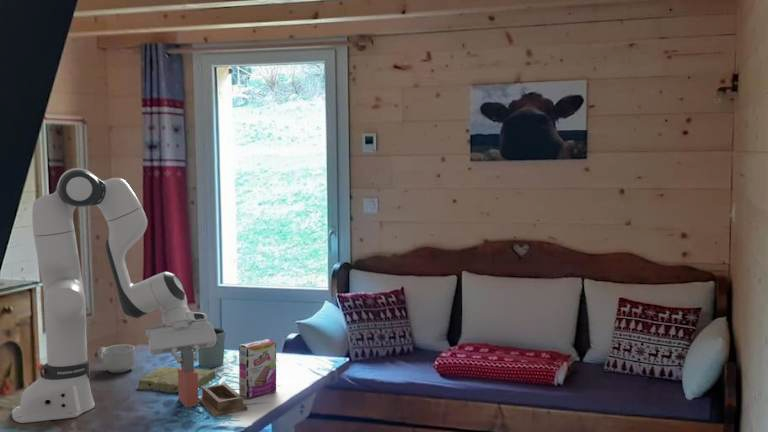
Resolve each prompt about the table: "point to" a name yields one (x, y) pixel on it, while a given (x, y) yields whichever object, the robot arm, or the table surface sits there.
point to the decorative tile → (172, 379)
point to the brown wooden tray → (221, 400)
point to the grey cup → (213, 351)
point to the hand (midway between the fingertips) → (187, 361)
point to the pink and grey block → (188, 380)
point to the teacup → (118, 357)
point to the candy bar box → (257, 368)
